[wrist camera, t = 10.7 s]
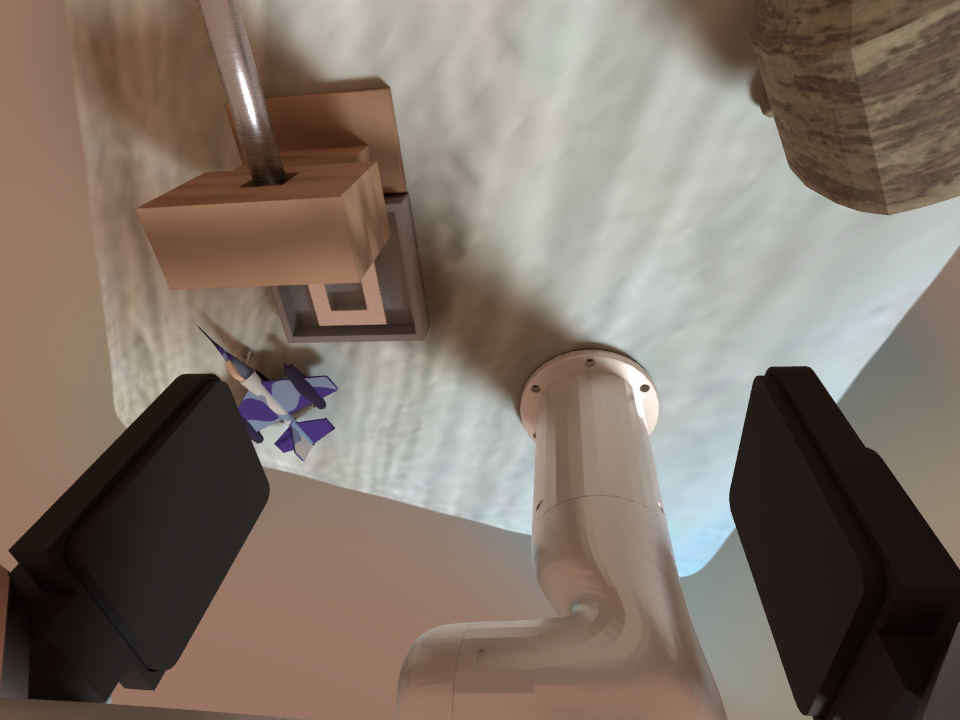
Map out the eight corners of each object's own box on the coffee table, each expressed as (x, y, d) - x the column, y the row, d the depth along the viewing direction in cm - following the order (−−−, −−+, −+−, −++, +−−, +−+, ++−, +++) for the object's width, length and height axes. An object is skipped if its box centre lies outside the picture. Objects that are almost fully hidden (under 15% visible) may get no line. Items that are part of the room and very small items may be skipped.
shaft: (317, 229, 37) (268, 277, 30) (267, 231, 37) (209, 280, 31) (198, -233, 25) (80, -306, 19) (127, -220, 26) (-10, -288, 19)
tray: (429, 325, 49) (424, 340, 47) (299, 328, 51) (288, 343, 49) (408, 193, 43) (401, 203, 41) (260, 201, 45) (246, 212, 43)
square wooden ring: (377, 251, 45) (390, 316, 48) (307, 254, 46) (324, 317, 49) (373, 258, 44) (386, 324, 47) (301, 260, 45) (319, 325, 48)
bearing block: (409, 207, 43) (359, 282, 32) (265, 215, 45) (170, 289, 34) (390, 87, 39) (323, 126, 28) (230, 101, 41) (107, 143, 29)
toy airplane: (206, 305, 51) (184, 325, 48) (354, 348, 52) (342, 370, 49) (206, 410, 58) (188, 433, 55) (336, 446, 59) (325, 471, 56)
